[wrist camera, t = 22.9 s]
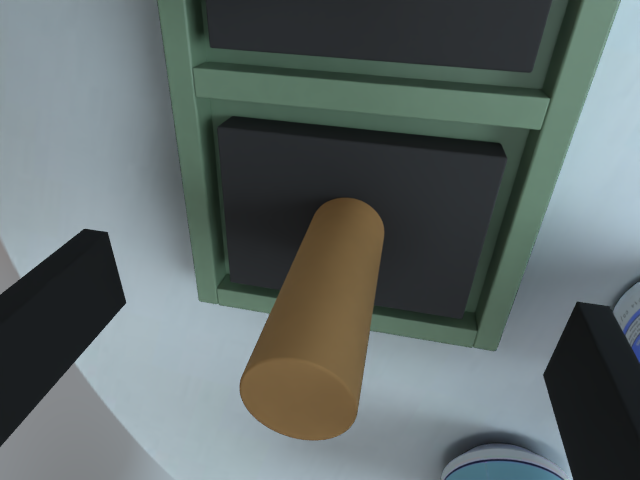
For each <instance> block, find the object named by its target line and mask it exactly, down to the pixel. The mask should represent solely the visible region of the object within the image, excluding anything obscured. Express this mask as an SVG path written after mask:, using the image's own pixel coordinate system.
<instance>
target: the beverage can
mask: <svg viewBox="0 0 640 480" xmlns="http://www.w3.org/2000/svg"><path fill="white" fill-rule="evenodd" d="M441 480H570V479H569V477H568V476H567V474H566V473H565V472H564V471H563V470H562V469H561V468H560V467H559V466H557V465H556V464H555V463H553V462H552V461H550V460H548V459H546V458H544V457H542V456H539V455H537V454H535V453H533V452H531V451H529V450H527V449H525V448H522V447H519V446H516V445H511V444H501V443H494V444H485V445H481V446H477V447H475V448H472V449H470V450H469V451H467V452H466V453H464V454H462V455H460V456H458V457H456V458H455V459H453V460H452V461H451V462H450V463H449V464H448V465H447V466H446V467H445V469H444V470H443V473H442V476H441Z"/></svg>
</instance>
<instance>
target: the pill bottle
mask: <svg viewBox="0 0 640 480" xmlns="http://www.w3.org/2000/svg"><path fill="white" fill-rule="evenodd" d="M613 314H614V316H615V318H616V320H617V321H618V323H619V325H620V327H621V329H622V331H623V333H624V334H625V336H626V338H627V340H628V342H629V344H630V346H631V347H632V349H633V351H634V353H635V355H636V357H637V359H638V360H639V362H640V281H639V282H638V283H636V284H635V285H634V286H632V287H631V288H630V289H629V290H628V291H627V292H626V293H625V294H624V295H623V296H622V297H621V298H620V300H619V301H618V303H617V304H616V306H615V308H614V311H613Z"/></svg>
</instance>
